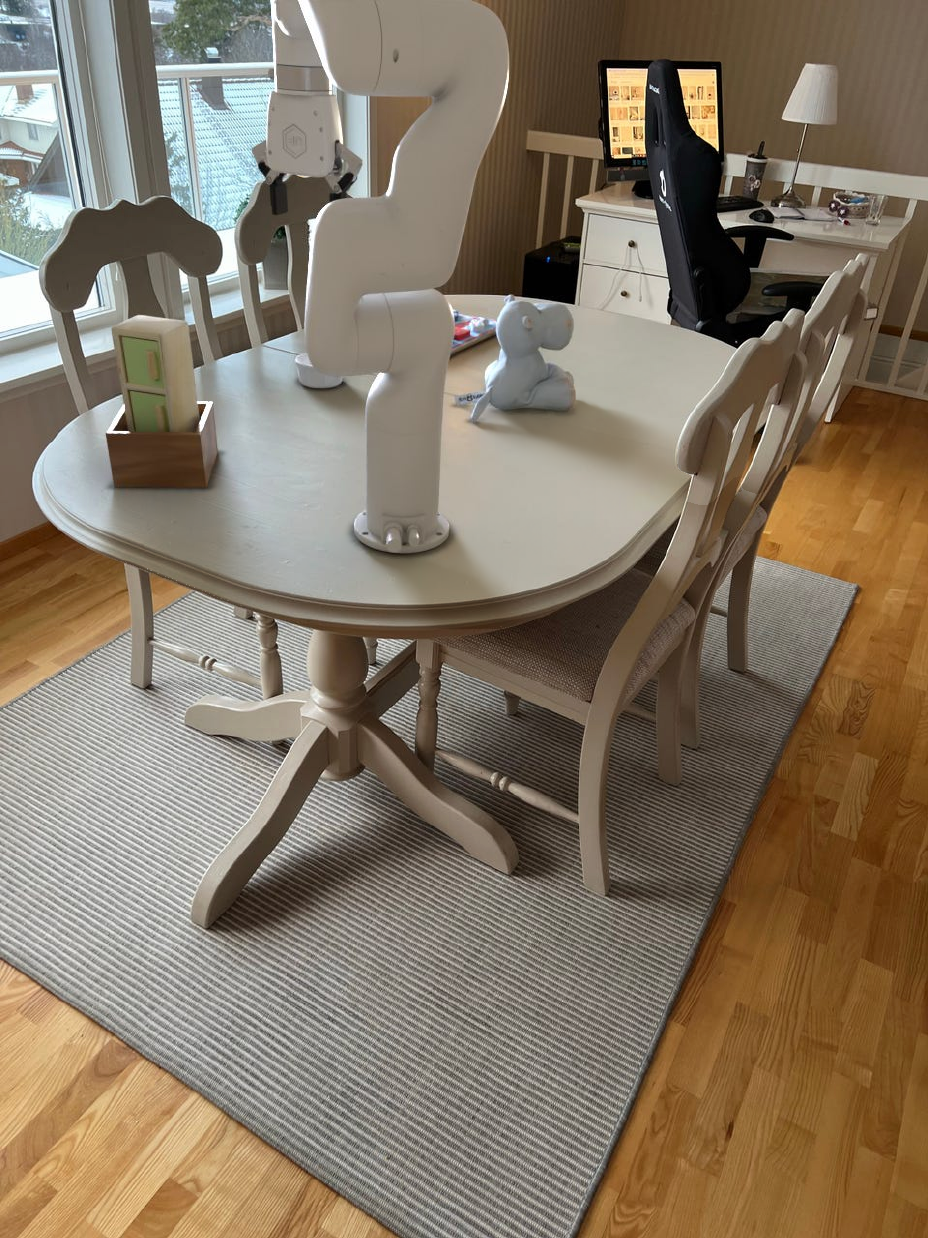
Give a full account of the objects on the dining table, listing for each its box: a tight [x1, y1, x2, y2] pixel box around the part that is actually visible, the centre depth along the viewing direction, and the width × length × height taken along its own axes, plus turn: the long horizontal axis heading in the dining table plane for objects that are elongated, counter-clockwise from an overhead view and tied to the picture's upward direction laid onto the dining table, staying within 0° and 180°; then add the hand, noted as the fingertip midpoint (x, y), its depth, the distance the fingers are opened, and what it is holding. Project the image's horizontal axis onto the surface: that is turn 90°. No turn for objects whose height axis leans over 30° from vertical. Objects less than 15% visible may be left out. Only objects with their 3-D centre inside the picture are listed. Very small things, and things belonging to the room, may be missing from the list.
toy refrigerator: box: [111, 314, 200, 433], centre depth 131 cm, size 8×7×21 cm
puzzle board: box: [450, 309, 497, 357], centre depth 198 cm, size 30×23×3 cm
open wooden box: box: [105, 401, 219, 489], centre depth 135 cm, size 13×13×8 cm
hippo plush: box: [454, 294, 577, 422], centre depth 164 cm, size 18×23×18 cm
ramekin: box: [294, 352, 344, 389], centre depth 170 cm, size 9×9×4 cm
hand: (308, 217), depth 135 cm, fingers open, 9 cm apart
